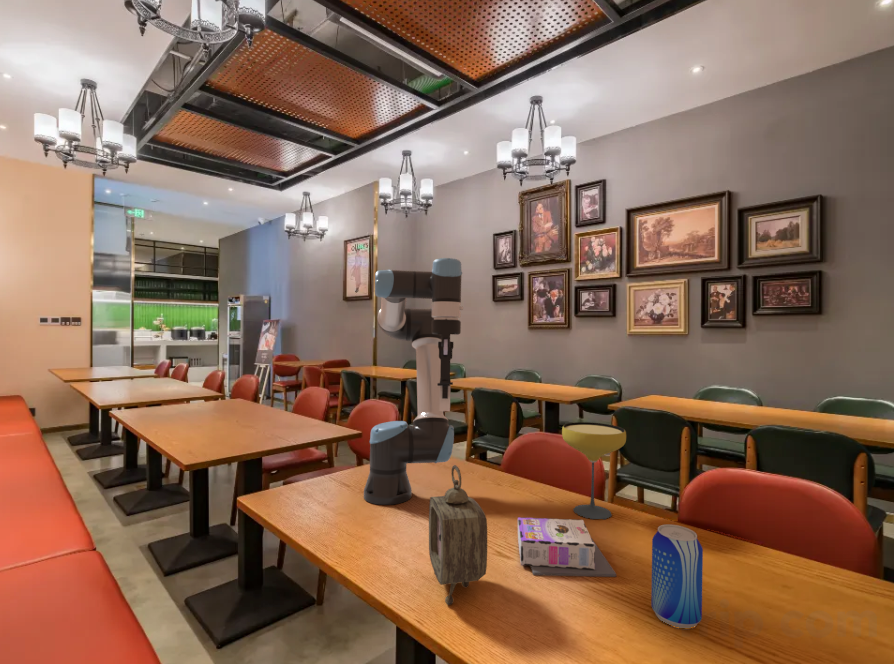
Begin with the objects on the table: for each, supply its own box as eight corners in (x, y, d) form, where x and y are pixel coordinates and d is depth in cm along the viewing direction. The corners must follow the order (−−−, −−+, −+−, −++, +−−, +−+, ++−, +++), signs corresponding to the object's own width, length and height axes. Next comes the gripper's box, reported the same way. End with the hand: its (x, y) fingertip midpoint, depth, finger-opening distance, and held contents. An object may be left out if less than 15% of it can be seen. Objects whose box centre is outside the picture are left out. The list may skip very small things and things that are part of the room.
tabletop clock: (428, 572, 100) (429, 457, 100) (467, 568, 102) (469, 456, 102) (442, 611, 86) (444, 478, 86) (488, 606, 88) (490, 476, 88)
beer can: (642, 604, 89) (643, 522, 89) (683, 603, 90) (684, 521, 90) (667, 633, 81) (668, 542, 81) (712, 631, 81) (713, 541, 81)
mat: (519, 534, 119) (519, 532, 119) (588, 535, 119) (588, 533, 119) (533, 575, 99) (533, 572, 99) (616, 576, 99) (616, 574, 99)
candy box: (520, 566, 102) (595, 571, 100) (520, 540, 102) (596, 544, 100) (517, 539, 116) (584, 542, 114) (517, 515, 116) (584, 519, 114)
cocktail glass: (634, 512, 136) (635, 428, 136) (609, 531, 122) (610, 437, 122) (578, 496, 148) (579, 419, 148) (549, 512, 135) (550, 427, 135)
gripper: (461, 318, 111) (459, 415, 111) (460, 320, 124) (458, 406, 124) (430, 318, 111) (429, 415, 111) (432, 319, 124) (431, 406, 124)
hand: (444, 410), depth 118 cm, fingers closed
